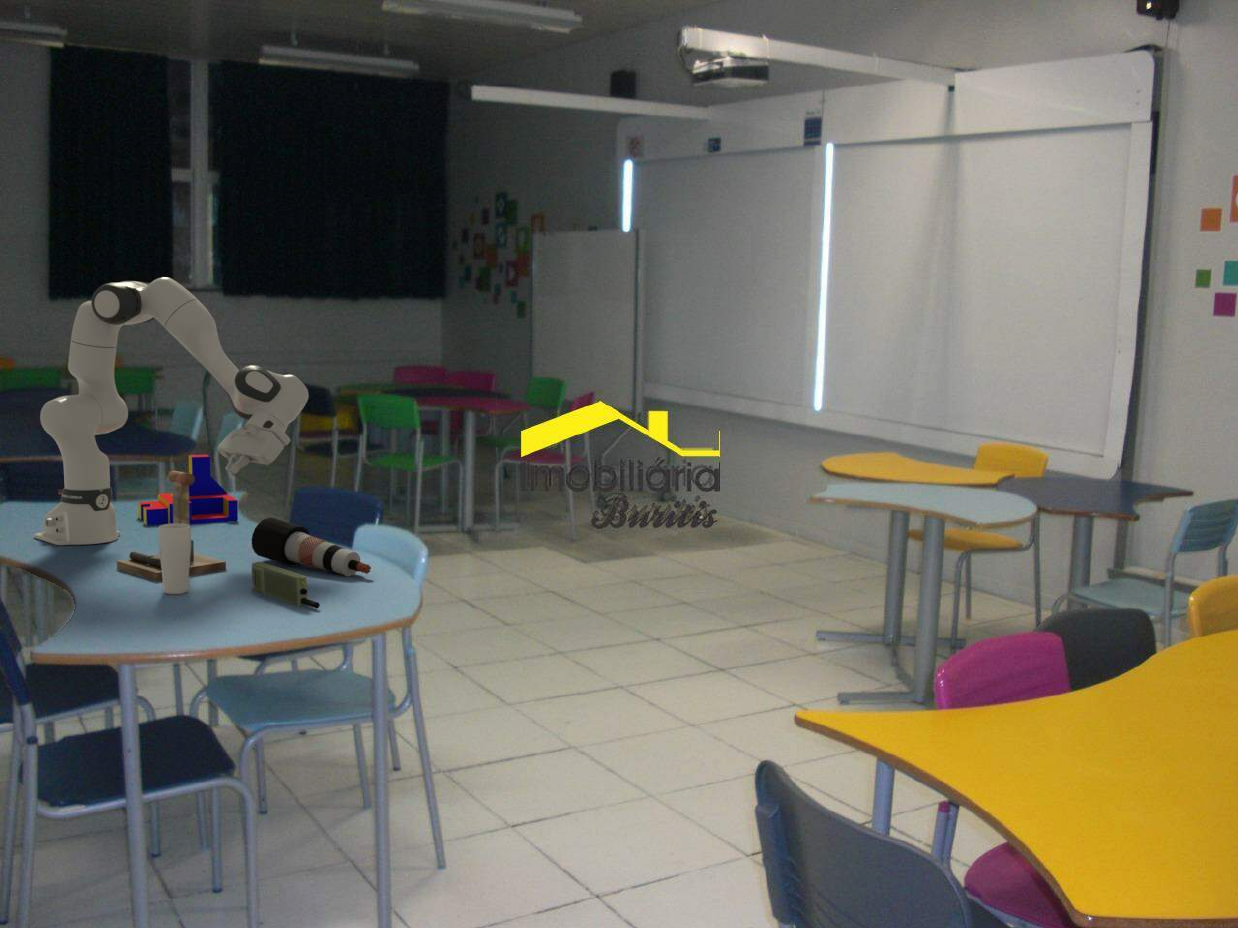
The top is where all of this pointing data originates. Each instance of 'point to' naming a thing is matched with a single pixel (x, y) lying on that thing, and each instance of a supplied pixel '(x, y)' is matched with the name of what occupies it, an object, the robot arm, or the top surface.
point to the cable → (303, 548)
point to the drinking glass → (175, 557)
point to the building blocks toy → (194, 499)
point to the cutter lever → (181, 495)
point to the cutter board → (157, 573)
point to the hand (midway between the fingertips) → (230, 471)
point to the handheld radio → (281, 584)
